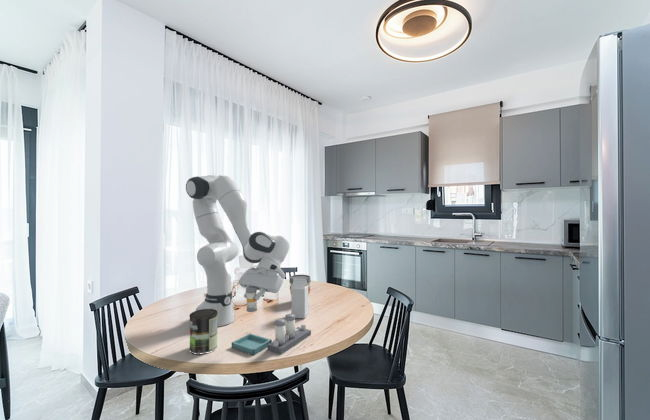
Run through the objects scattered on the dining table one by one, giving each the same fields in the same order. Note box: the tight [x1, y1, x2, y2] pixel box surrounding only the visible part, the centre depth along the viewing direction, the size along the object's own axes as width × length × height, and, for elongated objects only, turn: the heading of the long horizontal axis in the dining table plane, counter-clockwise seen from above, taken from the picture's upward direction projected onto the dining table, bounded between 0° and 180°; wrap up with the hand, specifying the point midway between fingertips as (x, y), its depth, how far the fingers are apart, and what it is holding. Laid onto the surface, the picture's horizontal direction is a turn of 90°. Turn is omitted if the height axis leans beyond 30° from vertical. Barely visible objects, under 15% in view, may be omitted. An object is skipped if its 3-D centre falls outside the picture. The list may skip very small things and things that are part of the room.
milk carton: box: [290, 279, 309, 319], centre depth 150 cm, size 7×7×19 cm
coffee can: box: [189, 309, 218, 354], centre depth 115 cm, size 10×10×14 cm
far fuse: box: [274, 318, 286, 346], centre depth 115 cm, size 4×4×9 cm
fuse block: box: [267, 323, 312, 355], centre depth 121 cm, size 7×20×4 cm, turn 149°
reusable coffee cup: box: [289, 274, 311, 296], centre depth 172 cm, size 13×13×15 cm
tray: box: [231, 333, 273, 356], centre depth 117 cm, size 12×10×2 cm
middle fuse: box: [285, 313, 296, 339], centre depth 121 cm, size 4×4×9 cm
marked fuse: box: [245, 287, 258, 313], centre depth 117 cm, size 4×4×9 cm
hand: (250, 298), depth 116 cm, fingers closed on marked fuse, 4 cm apart
